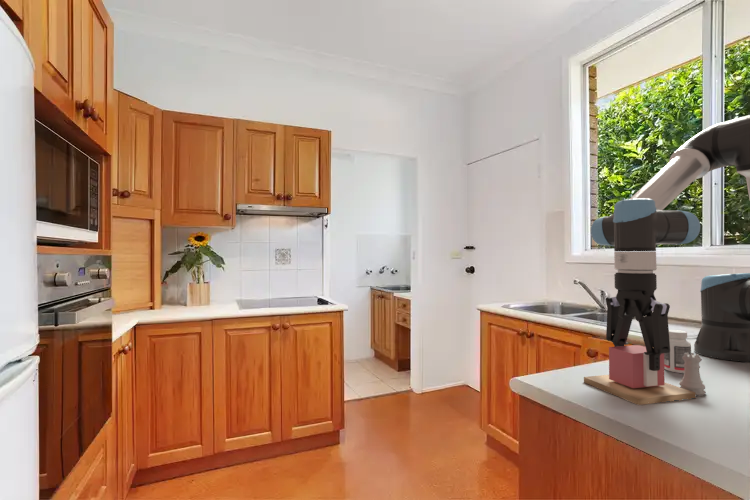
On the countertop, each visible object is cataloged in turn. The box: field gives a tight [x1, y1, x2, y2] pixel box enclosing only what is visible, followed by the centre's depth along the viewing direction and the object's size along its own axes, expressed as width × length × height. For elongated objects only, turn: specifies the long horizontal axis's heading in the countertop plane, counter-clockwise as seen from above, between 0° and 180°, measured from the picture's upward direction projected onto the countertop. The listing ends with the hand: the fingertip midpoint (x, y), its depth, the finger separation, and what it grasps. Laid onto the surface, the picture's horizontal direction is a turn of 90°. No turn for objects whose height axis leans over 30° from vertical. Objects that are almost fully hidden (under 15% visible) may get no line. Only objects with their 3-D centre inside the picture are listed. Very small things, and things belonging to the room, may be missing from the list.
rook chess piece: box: [678, 352, 707, 396], centre depth 83 cm, size 4×4×8 cm
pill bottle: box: [664, 329, 692, 374], centre depth 98 cm, size 5×5×10 cm
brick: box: [608, 344, 666, 388], centre depth 85 cm, size 8×6×7 cm
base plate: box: [583, 374, 697, 406], centre depth 85 cm, size 14×14×1 cm
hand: (636, 380), depth 85 cm, fingers closed on brick, 6 cm apart
